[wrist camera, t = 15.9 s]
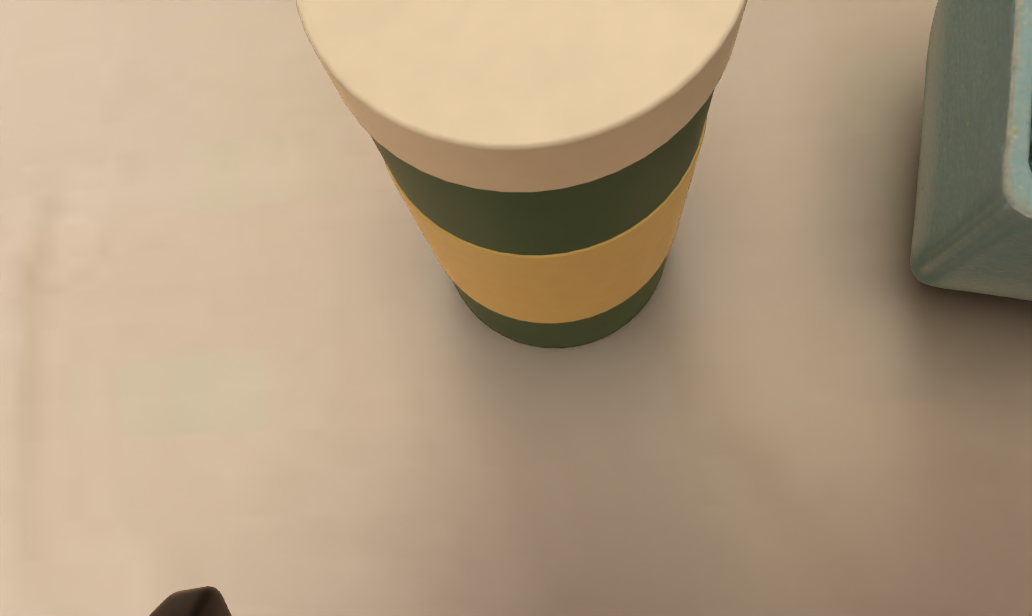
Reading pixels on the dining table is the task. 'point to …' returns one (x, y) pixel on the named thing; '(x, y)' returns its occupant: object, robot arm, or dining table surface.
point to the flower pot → (976, 151)
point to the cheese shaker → (535, 140)
